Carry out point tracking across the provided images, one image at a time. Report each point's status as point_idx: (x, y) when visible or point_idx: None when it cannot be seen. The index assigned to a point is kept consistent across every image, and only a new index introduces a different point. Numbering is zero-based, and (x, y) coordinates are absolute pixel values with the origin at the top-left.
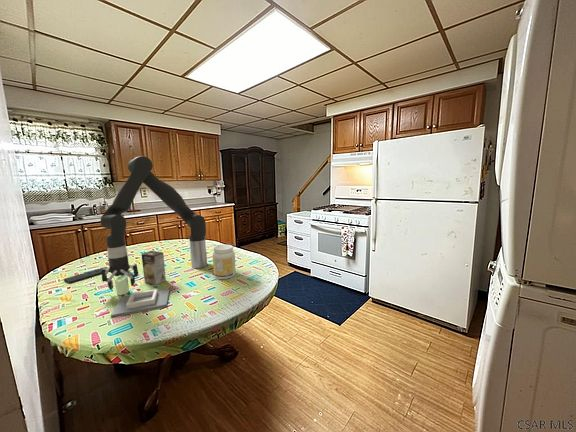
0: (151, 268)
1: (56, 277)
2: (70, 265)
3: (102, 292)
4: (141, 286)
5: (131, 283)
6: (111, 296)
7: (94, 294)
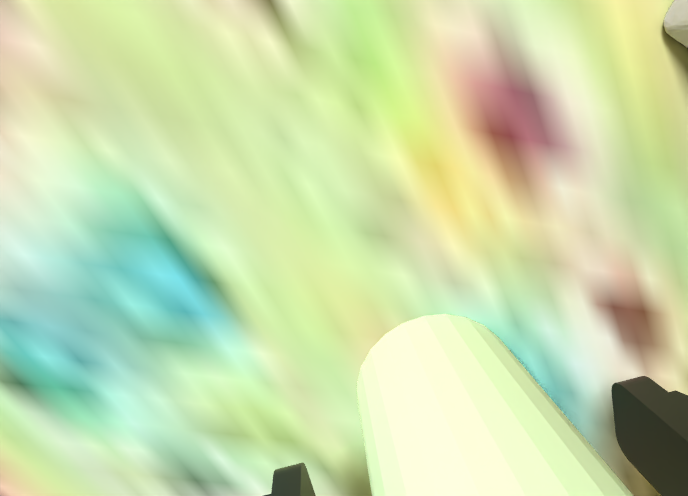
0: None
1: None
2: None
3: (86, 336)
4: (643, 209)
5: (666, 484)
6: (324, 473)
7: (2, 386)
